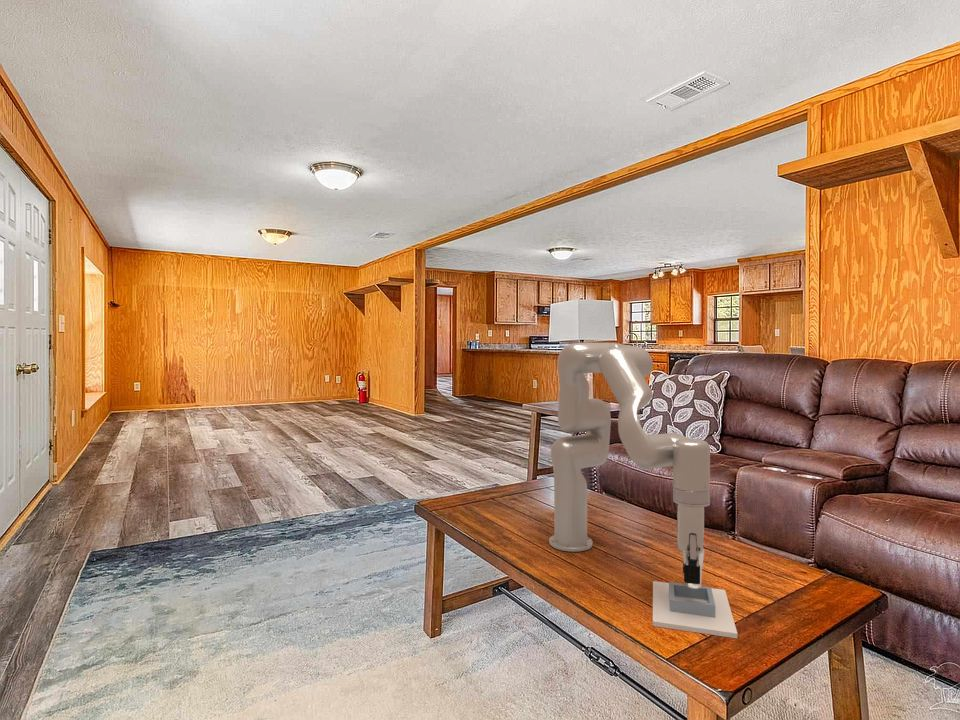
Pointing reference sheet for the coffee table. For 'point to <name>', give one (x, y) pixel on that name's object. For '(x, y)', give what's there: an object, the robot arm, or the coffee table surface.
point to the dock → (692, 609)
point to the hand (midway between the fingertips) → (691, 577)
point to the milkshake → (701, 557)
